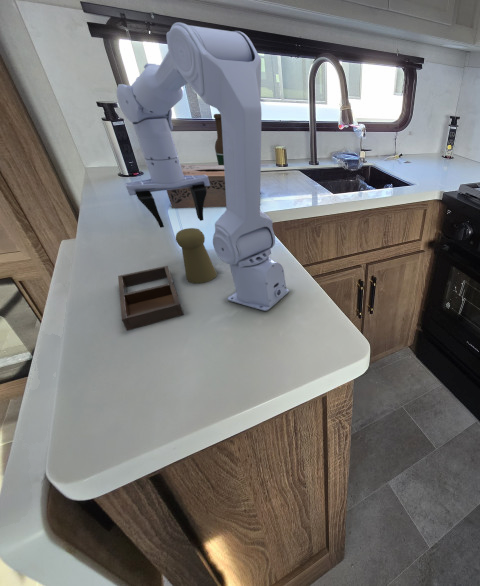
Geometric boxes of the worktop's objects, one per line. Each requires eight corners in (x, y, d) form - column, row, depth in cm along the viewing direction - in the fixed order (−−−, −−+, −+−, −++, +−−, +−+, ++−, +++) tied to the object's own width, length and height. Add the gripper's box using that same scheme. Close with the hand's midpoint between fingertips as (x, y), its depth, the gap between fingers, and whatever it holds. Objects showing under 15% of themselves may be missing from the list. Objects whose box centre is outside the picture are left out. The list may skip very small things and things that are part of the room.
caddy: (183, 314, 63) (179, 304, 61) (127, 330, 58) (121, 319, 57) (171, 275, 74) (167, 265, 72) (122, 286, 69) (118, 275, 68)
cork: (208, 267, 78) (196, 222, 71) (221, 276, 75) (209, 230, 68) (181, 276, 74) (165, 230, 67) (194, 286, 71) (179, 239, 64)
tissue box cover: (259, 192, 124) (255, 165, 119) (256, 205, 113) (251, 175, 107) (183, 194, 118) (174, 165, 113) (172, 208, 107) (162, 176, 101)
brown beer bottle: (246, 180, 135) (234, 114, 122) (230, 184, 130) (215, 116, 116) (234, 177, 139) (221, 112, 125) (217, 181, 133) (202, 113, 120)
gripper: (196, 150, 72) (212, 211, 79) (114, 156, 64) (139, 222, 71) (205, 157, 67) (220, 220, 75) (117, 163, 59) (144, 234, 67)
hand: (181, 222), depth 73 cm, fingers open, 7 cm apart
